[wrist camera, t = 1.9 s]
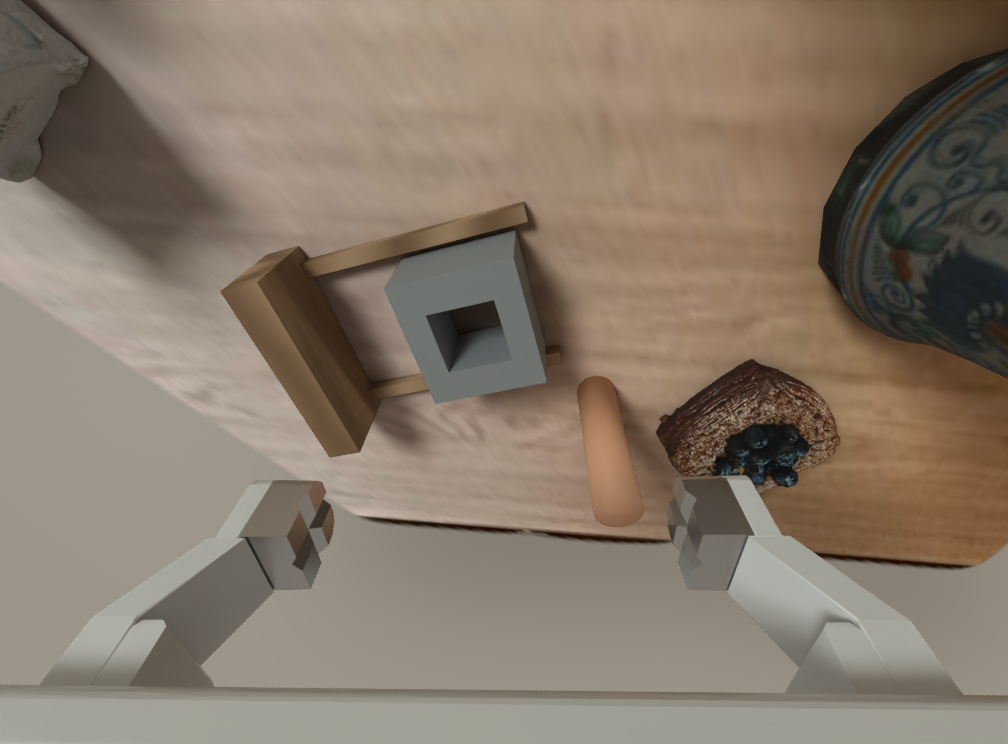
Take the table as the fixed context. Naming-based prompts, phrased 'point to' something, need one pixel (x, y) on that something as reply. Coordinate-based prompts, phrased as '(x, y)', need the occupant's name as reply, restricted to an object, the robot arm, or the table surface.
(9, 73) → the incense holder
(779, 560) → the robot arm
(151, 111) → the table surface
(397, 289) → the block
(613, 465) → the dowel
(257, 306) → the rail frame
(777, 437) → the pastry
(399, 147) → the table surface
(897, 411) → the table surface
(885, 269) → the beer stein
